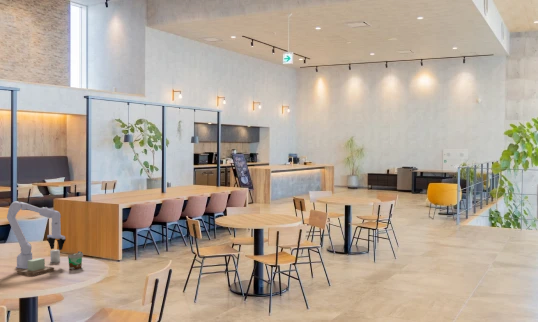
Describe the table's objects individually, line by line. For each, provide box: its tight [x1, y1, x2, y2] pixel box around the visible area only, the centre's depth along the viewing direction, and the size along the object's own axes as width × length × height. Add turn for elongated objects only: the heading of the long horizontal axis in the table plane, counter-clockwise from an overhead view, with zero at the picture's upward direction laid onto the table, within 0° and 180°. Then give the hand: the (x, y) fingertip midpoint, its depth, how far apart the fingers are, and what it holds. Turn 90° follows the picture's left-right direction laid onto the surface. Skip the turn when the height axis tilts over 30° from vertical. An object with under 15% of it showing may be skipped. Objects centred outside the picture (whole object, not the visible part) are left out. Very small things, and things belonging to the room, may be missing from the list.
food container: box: [67, 251, 84, 271], centre depth 343 cm, size 12×6×10 cm, turn 168°
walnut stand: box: [16, 265, 55, 277], centre depth 333 cm, size 14×16×2 cm
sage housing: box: [28, 257, 46, 271], centre depth 333 cm, size 5×10×6 cm, turn 154°
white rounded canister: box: [49, 249, 61, 264], centre depth 362 cm, size 6×6×8 cm
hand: (56, 249), depth 353 cm, fingers open, 7 cm apart
